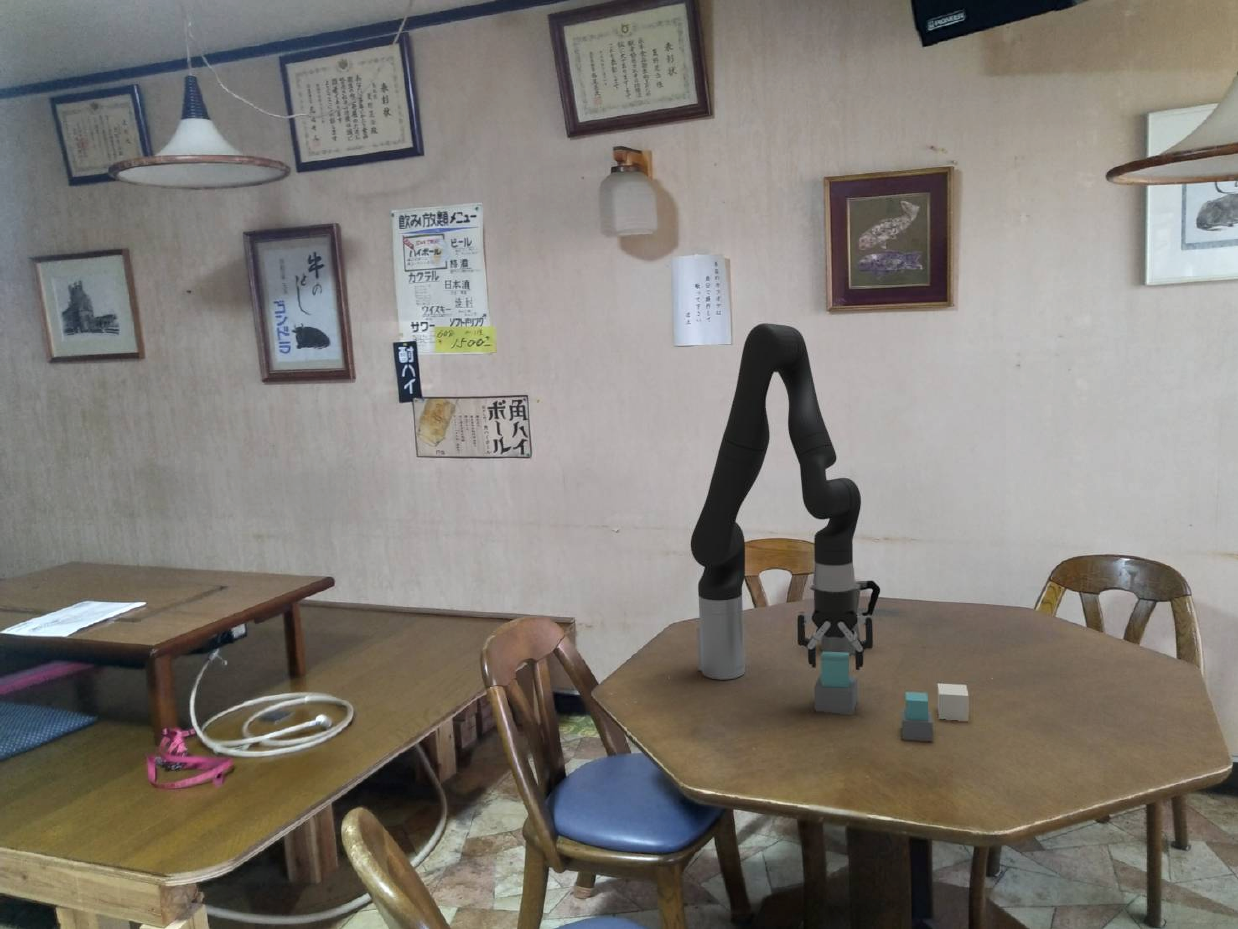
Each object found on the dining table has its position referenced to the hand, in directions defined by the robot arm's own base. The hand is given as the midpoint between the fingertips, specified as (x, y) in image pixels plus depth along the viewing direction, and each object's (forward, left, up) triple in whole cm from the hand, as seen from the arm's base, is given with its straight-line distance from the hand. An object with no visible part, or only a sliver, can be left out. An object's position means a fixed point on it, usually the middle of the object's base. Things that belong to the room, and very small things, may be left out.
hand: (835, 667), depth 168 cm
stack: (+18, 0, -8) cm, 19 cm away
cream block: (+18, +12, -8) cm, 22 cm away
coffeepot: (-17, +26, -8) cm, 32 cm away
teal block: (0, 0, -3) cm, 3 cm away
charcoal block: (0, 0, -8) cm, 8 cm away
